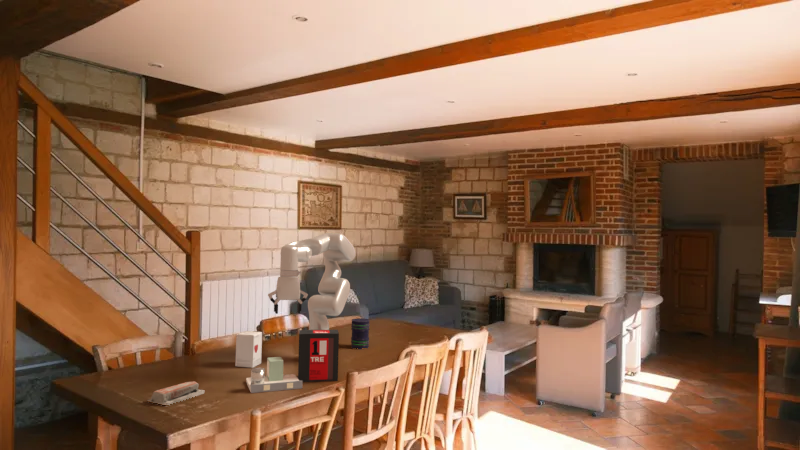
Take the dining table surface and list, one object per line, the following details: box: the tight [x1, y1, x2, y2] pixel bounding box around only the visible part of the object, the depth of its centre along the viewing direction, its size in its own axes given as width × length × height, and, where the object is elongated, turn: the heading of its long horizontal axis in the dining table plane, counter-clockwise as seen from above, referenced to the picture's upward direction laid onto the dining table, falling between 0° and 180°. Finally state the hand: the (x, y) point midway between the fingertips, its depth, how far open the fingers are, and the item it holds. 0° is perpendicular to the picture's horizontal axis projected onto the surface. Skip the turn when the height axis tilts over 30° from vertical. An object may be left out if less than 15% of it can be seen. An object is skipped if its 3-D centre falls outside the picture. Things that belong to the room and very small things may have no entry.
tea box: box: [266, 356, 284, 381], centre depth 221 cm, size 7×6×8 cm
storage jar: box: [350, 317, 370, 350], centre depth 290 cm, size 10×10×15 cm
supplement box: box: [234, 330, 263, 369], centre depth 247 cm, size 9×9×15 cm
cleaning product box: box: [297, 329, 340, 383], centre depth 227 cm, size 16×9×20 cm, turn 100°
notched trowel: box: [146, 380, 206, 406], centre depth 198 cm, size 18×5×10 cm
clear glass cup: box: [250, 367, 266, 385], centre depth 210 cm, size 5×5×6 cm
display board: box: [245, 373, 304, 394], centre depth 217 cm, size 20×17×3 cm
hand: (287, 313), depth 234 cm, fingers open, 9 cm apart
